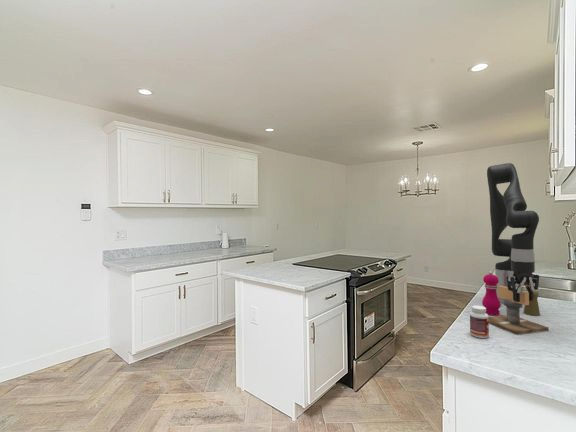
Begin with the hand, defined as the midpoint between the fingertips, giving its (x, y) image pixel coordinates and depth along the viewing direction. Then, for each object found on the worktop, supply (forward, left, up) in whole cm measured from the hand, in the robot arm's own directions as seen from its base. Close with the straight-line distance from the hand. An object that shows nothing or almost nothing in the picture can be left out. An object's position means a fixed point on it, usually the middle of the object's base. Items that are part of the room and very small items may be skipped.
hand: (523, 300), depth 120 cm
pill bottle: (+22, 0, -12) cm, 25 cm away
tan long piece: (0, -5, -3) cm, 6 cm away
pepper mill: (-4, -19, -12) cm, 23 cm away
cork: (-21, -14, -12) cm, 28 cm away
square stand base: (0, -5, -12) cm, 12 cm away
